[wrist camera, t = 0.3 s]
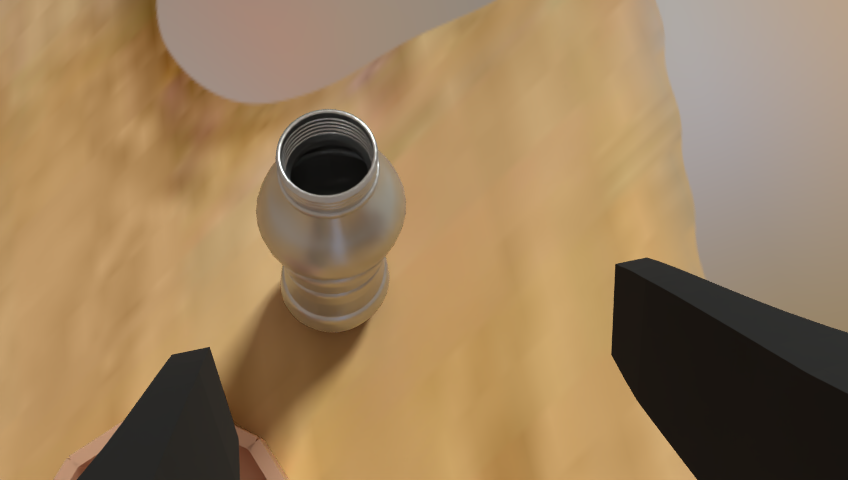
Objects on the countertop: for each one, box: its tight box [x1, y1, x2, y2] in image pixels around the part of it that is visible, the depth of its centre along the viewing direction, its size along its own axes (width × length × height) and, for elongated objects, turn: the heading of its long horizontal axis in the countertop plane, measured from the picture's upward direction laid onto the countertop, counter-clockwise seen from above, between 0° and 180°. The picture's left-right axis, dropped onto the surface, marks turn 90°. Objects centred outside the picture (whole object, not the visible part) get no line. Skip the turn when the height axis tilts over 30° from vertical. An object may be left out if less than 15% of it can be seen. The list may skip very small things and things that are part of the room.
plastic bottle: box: [256, 109, 406, 332], centre depth 33 cm, size 6×7×20 cm
